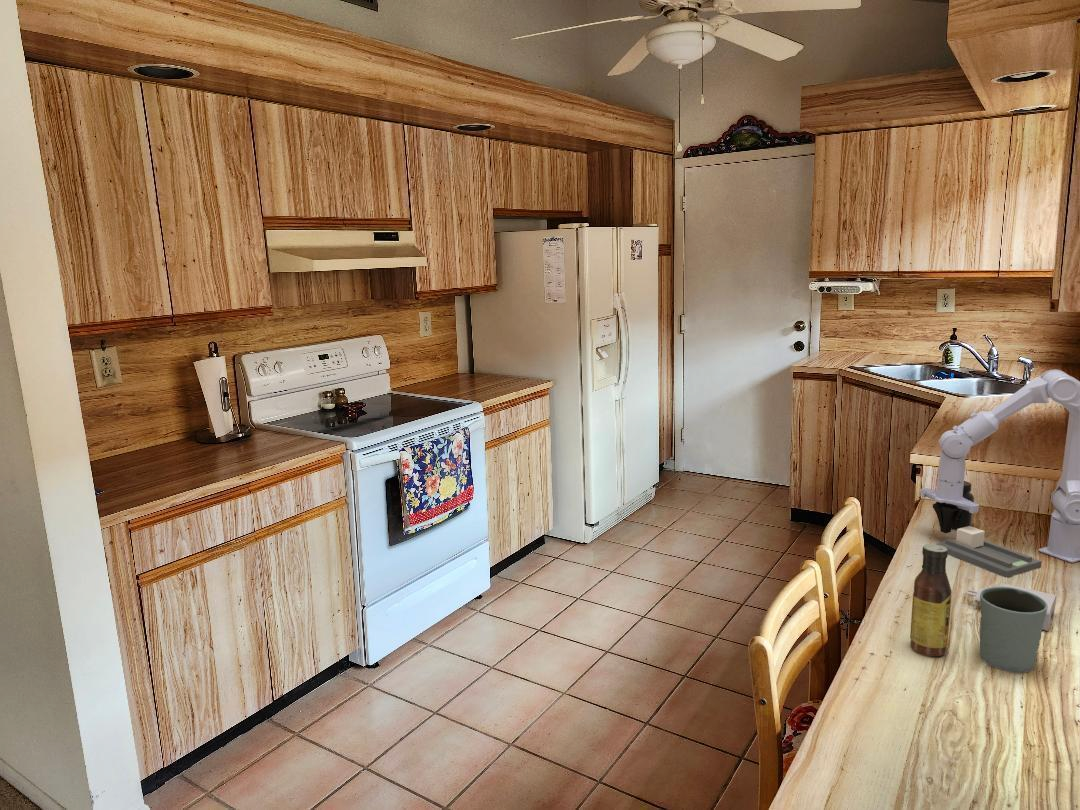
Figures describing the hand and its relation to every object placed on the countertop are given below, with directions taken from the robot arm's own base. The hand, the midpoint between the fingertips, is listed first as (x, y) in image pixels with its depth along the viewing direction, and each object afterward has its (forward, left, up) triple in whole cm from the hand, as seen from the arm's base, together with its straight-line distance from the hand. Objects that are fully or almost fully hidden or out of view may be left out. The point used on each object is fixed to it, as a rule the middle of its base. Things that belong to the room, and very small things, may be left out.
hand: (945, 531), depth 188 cm
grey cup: (+38, +42, -3) cm, 57 cm away
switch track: (0, +11, -3) cm, 11 cm away
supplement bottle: (-12, -6, -3) cm, 14 cm away
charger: (+21, +30, -3) cm, 37 cm away
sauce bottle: (+47, +33, -3) cm, 58 cm away
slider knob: (0, +6, -1) cm, 7 cm away
